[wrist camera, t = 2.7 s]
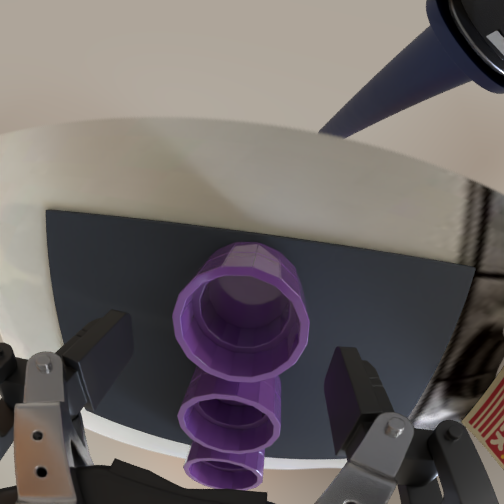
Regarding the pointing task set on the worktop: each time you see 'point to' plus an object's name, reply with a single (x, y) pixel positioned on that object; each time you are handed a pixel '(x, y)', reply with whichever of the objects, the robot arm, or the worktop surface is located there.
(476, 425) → the milk carton
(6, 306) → the worktop surface
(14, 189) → the worktop surface
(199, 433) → the purple hollow cup
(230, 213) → the worktop surface
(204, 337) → the purple hollow cylinder
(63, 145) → the worktop surface
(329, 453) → the mat
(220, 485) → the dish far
